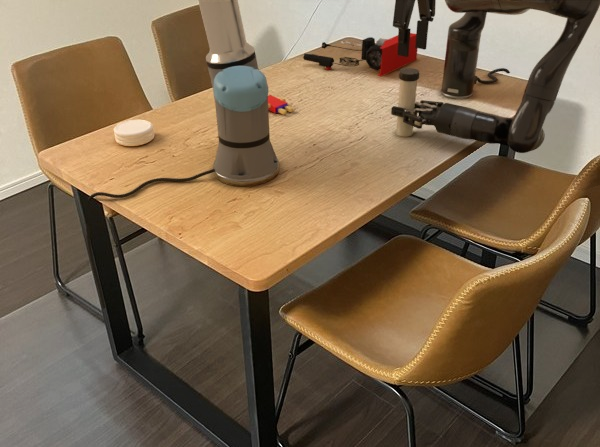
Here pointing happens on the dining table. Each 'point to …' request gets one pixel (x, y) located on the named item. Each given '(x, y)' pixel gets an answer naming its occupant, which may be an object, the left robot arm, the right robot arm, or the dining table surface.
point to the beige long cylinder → (406, 105)
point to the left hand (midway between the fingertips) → (411, 51)
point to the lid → (409, 74)
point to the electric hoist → (372, 54)
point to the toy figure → (278, 105)
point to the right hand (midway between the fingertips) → (396, 107)
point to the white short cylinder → (134, 132)
